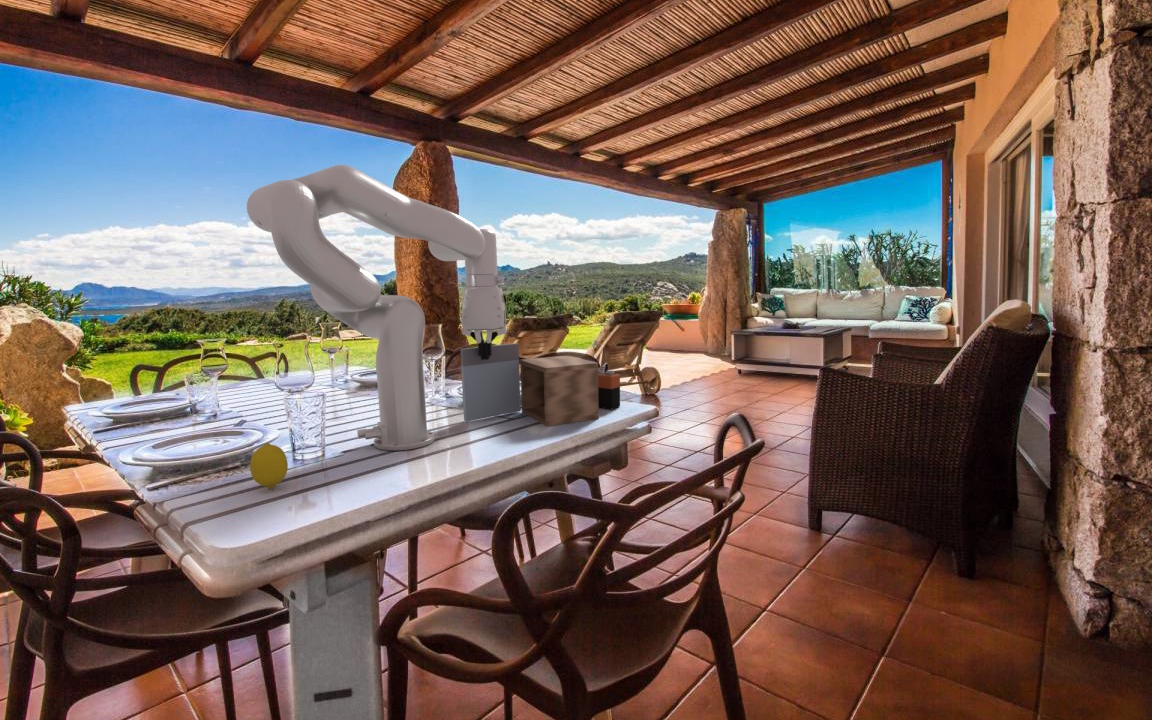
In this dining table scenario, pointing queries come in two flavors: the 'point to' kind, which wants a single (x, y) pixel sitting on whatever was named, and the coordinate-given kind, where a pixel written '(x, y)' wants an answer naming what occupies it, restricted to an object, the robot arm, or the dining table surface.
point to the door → (490, 382)
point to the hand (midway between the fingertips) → (485, 358)
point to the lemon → (268, 465)
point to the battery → (608, 390)
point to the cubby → (559, 389)
